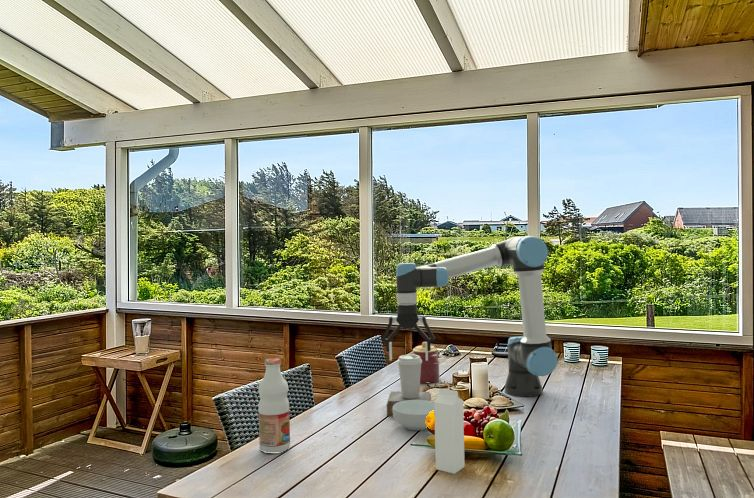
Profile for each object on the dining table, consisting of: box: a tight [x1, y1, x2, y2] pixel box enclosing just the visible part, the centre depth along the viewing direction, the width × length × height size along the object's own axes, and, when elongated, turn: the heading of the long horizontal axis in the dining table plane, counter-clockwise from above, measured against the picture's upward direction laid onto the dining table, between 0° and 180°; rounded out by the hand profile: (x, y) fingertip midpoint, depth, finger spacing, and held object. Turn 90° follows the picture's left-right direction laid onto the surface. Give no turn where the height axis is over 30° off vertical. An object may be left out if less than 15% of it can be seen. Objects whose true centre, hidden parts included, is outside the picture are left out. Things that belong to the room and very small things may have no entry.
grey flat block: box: [386, 391, 432, 417], centre depth 209 cm, size 16×14×5 cm
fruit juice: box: [258, 357, 291, 453], centre depth 172 cm, size 9×9×28 cm
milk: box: [433, 388, 466, 475], centre depth 154 cm, size 6×6×22 cm
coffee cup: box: [396, 354, 422, 399], centre depth 208 cm, size 10×10×15 cm
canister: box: [410, 341, 440, 384], centre depth 253 cm, size 13×13×18 cm
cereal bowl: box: [392, 400, 434, 431], centre depth 190 cm, size 17×17×7 cm
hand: (408, 360), depth 208 cm, fingers open, 13 cm apart
